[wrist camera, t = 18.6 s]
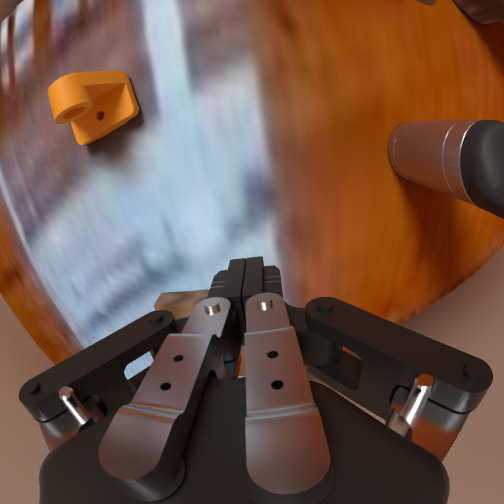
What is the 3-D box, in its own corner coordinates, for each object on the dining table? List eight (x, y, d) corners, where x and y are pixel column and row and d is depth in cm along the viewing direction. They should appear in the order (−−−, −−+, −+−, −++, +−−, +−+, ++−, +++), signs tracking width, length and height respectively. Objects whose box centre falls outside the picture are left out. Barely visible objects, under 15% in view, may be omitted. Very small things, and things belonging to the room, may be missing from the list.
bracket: (88, 146, 36) (39, 152, 25) (76, 108, 34) (27, 106, 23) (143, 113, 35) (100, 106, 24) (129, 74, 32) (86, 57, 21)
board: (269, 284, 44) (270, 297, 40) (277, 358, 50) (278, 373, 46) (161, 292, 45) (154, 305, 42) (185, 362, 51) (180, 376, 47)
